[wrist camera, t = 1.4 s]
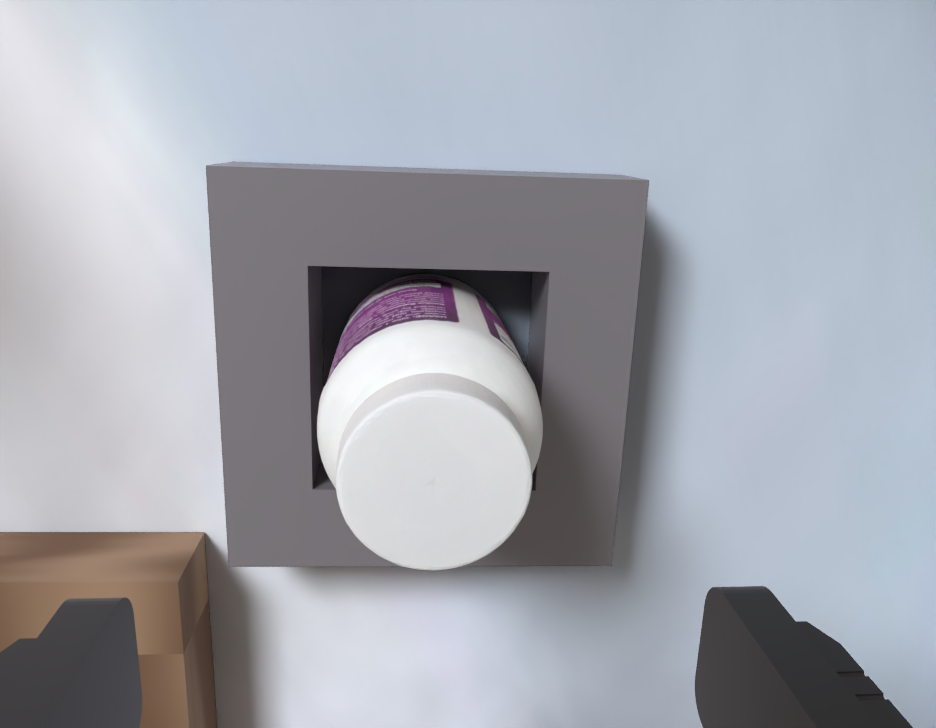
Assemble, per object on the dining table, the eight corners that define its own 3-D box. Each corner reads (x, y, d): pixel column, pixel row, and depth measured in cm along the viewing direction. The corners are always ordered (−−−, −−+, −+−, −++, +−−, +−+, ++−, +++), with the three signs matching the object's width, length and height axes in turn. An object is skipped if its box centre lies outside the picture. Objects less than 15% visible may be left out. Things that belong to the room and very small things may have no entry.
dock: (204, 532, 26) (177, 581, 23) (222, 808, 29) (201, 882, 26) (-161, 532, 25) (-235, 583, 22) (-101, 816, 28) (-158, 893, 25)
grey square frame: (620, 175, 24) (649, 180, 21) (590, 519, 27) (611, 565, 24) (232, 161, 23) (205, 165, 20) (249, 518, 26) (228, 566, 23)
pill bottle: (320, 406, 25) (264, 566, 16) (367, 248, 24) (337, 321, 14) (479, 452, 26) (515, 628, 17) (533, 301, 24) (605, 402, 15)
